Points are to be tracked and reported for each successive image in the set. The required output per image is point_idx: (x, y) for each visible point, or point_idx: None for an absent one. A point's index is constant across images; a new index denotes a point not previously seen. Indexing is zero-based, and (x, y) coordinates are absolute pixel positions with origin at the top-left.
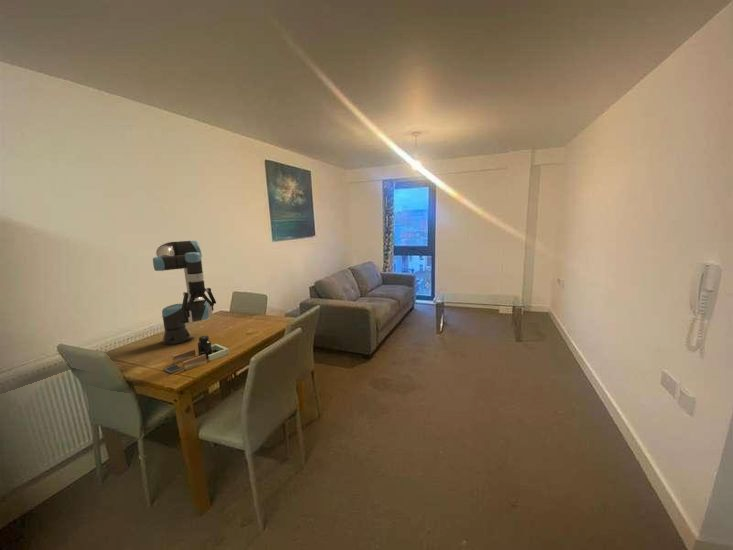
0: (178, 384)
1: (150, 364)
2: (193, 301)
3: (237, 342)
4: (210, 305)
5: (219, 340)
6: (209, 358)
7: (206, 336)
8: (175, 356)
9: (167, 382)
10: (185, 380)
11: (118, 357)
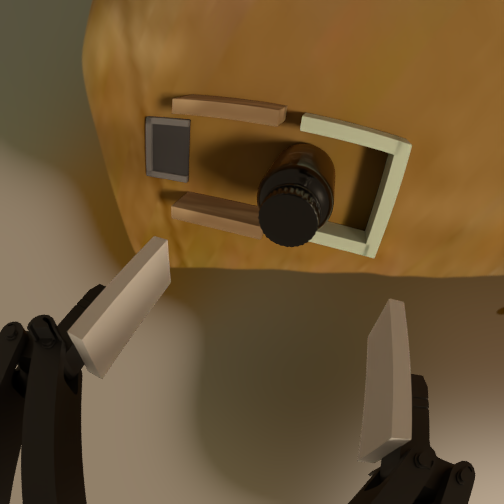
0: None
1: (143, 18)
2: (85, 497)
3: (487, 191)
4: (388, 454)
5: (484, 72)
6: None
7: (306, 227)
8: (180, 113)
9: (128, 218)
10: None
11: None
